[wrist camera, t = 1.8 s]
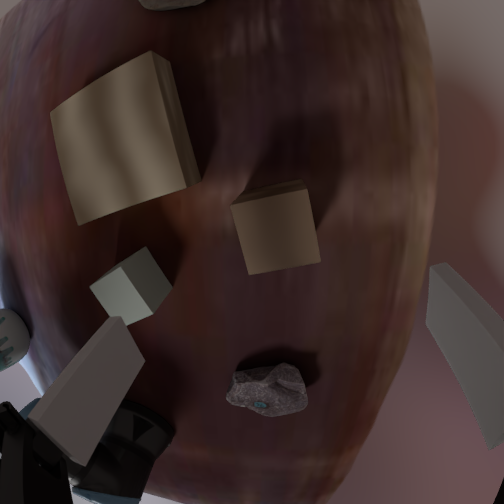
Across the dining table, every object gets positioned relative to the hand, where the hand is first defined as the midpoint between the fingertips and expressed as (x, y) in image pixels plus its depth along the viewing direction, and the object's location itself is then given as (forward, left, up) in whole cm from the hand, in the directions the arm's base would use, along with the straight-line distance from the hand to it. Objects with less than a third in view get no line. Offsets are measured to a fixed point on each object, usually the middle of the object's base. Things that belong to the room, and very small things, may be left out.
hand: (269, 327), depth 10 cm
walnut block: (0, 0, -19) cm, 19 cm away
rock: (-6, -23, -19) cm, 31 cm away
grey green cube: (-18, -4, -19) cm, 27 cm away
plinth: (-14, +12, -19) cm, 27 cm away
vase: (-58, -10, -19) cm, 62 cm away
